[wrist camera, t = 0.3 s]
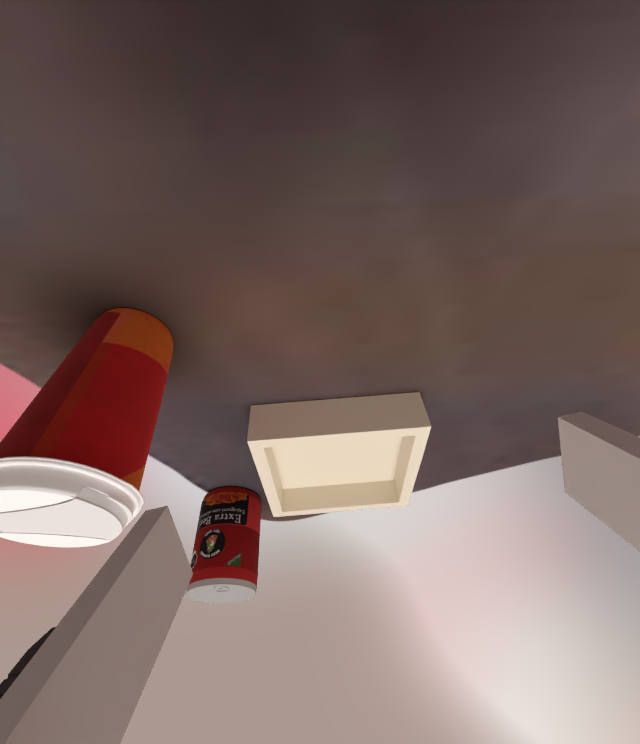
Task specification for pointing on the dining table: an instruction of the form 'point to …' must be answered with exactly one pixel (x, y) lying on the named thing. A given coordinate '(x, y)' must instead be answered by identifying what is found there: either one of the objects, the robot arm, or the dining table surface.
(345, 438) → the tray
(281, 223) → the dining table surface
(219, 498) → the canned food
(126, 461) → the paper cup
